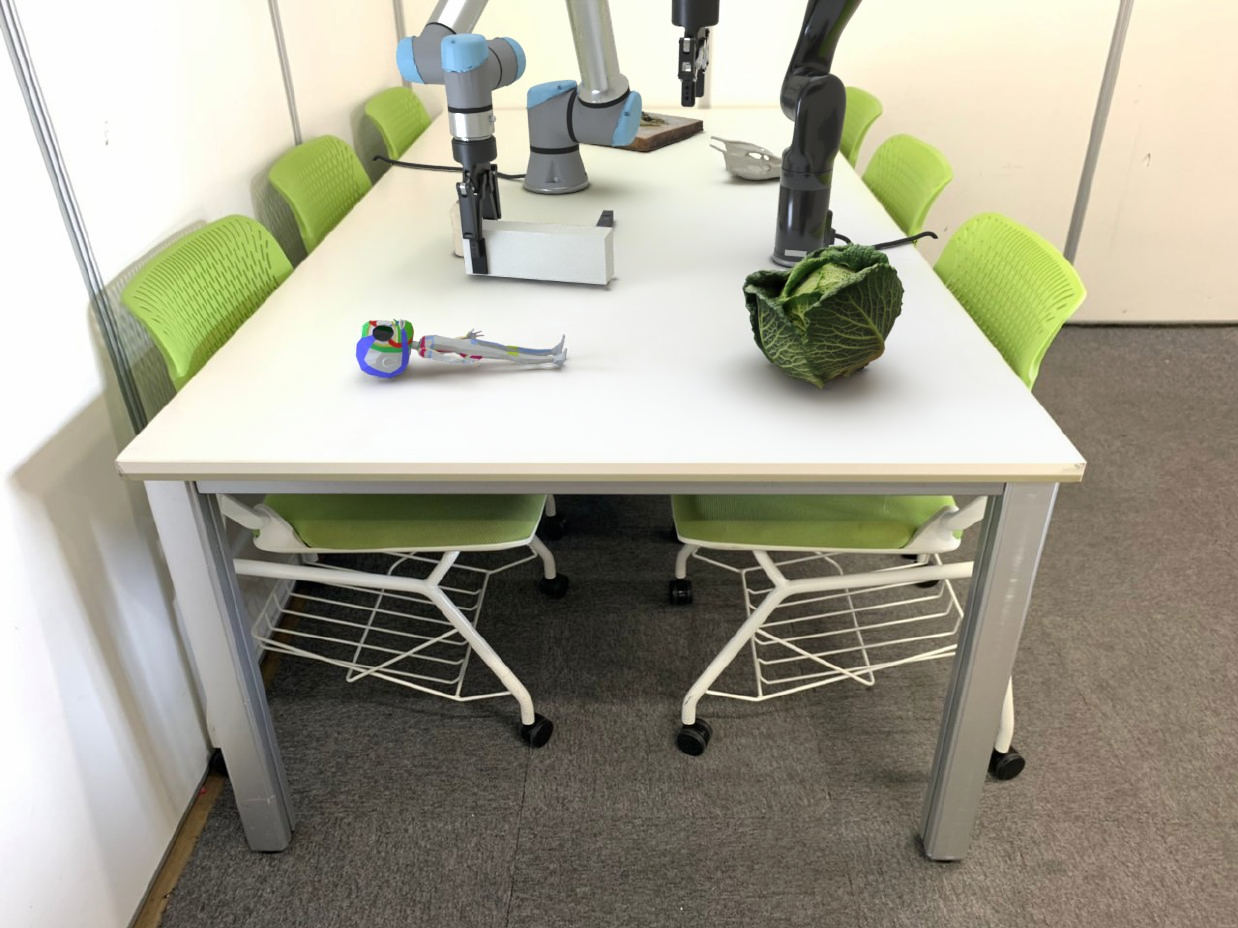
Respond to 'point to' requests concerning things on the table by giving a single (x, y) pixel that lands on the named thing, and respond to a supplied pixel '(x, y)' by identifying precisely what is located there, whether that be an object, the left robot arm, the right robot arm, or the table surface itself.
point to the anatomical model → (749, 160)
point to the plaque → (662, 131)
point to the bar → (546, 251)
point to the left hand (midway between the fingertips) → (486, 267)
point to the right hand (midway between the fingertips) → (692, 101)
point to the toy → (435, 349)
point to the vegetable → (825, 311)
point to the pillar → (606, 219)
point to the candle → (457, 228)
